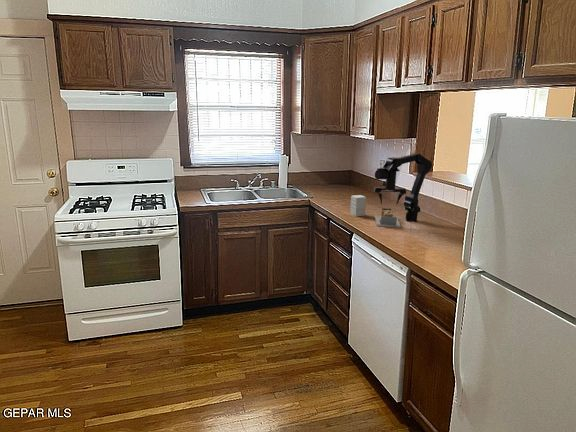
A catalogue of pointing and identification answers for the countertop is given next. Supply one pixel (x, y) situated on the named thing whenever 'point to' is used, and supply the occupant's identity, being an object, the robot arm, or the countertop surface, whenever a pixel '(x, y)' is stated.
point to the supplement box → (358, 205)
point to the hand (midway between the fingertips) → (388, 204)
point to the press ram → (385, 210)
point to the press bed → (387, 221)
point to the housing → (388, 213)
